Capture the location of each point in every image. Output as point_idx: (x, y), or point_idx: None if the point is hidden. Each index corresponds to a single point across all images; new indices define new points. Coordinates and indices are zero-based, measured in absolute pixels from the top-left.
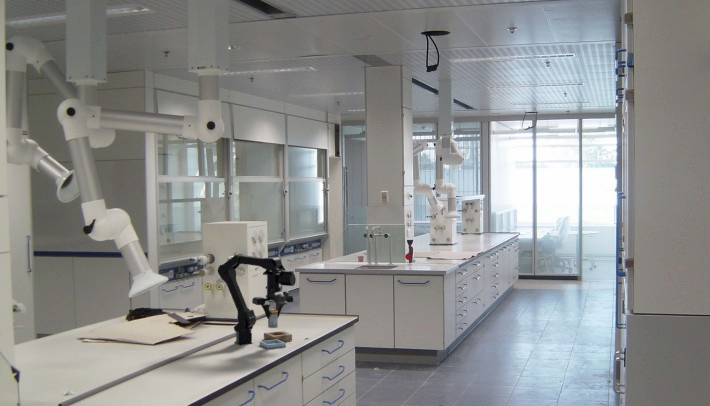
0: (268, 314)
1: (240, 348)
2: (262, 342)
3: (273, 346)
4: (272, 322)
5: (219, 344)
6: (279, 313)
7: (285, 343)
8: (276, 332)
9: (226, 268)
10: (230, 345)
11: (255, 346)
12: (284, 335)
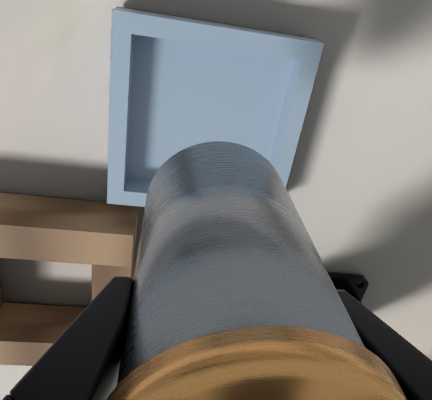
0: (400, 352)
1: (428, 206)
2: (286, 172)
3: (259, 31)
4: (283, 196)
5: (423, 348)
6: (74, 337)
7: (115, 10)
8: (24, 341)
9: None
10: (402, 303)
11: (308, 198)
12: (6, 224)
